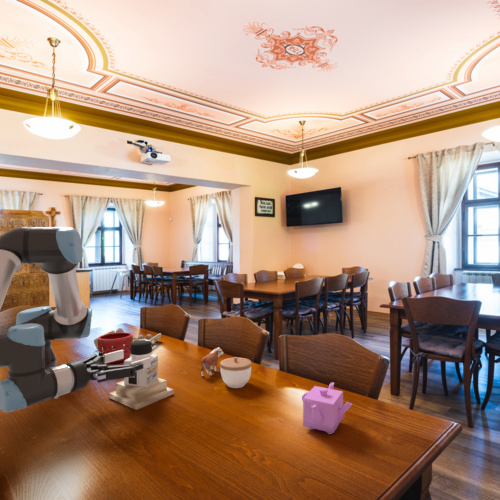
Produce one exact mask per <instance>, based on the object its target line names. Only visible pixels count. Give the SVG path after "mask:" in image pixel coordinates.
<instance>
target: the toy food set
mask: <svg viewBox="0 0 500 500" xmlns="http://www.w3.org/2000/svg"><path fill="white" fill-rule="evenodd" d="M119 332H124V329H123V327H118V328H117V329H116V331H115V330H111V331H109V332H106V333H104V334H103V335H105V334H110V333H119ZM161 336H162V333H161V332H159V333H158V334H156V335H154V336H152V334H150V333H149V334H147V335H146V337H144V335H143V334H140V335H139V334H138V336H137V338H135V337H133V341H136V340H141V339H146V340H150V341H151V342H152V345H154V344H155V343H156V342H158V341H159V340H160V339H161ZM93 344H94V346H95V348H96V350H98V337H95V338H94V339H93ZM123 346H125V345H123ZM112 348H113V346H112ZM102 350H103V347H102Z"/></svg>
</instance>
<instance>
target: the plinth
mask: <svg viewBox="0 0 500 500" xmlns="http://www.w3.org/2000/svg"><path fill="white" fill-rule="evenodd" d="M167 384H168V380H166V379H164V378H161V377H158V379H156V380H155V381H154V382H153V383H151V384H150V385H149V386H147V387H138V386H127V385H124V380H122V381H118V382H116V383H115V390H114V391H111V392H108V399H111V400H114V401H115V402H117V403H119V404H122V405H123V406H126V407H129V408H131V409H132V410H135V411H138V410H140V409H142V408H145V407H147V406H149V405H152V404H154V403H157V402H158V401H161V400H163V399H165V398H168V397H170V396H172V395H174V389H173V388H170V387H168V385H167Z"/></svg>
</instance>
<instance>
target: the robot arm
mask: <svg viewBox="0 0 500 500" xmlns="http://www.w3.org/2000/svg"><path fill="white" fill-rule="evenodd" d="M81 237H82V236H81V235H80V233H79V231H78V230H77V229H75V228H74V227H66V226H58V227H57V226H56V227H55V226H21V227H16V228H13V229H10V230H9V231H6V232H5V233H2V234H1V235H0V311H1V309H2V306H3V304H4V301H5V299H6V296H7V294H8V292H9V287H10V286H11V283H12V280H13V277H14V275H15V273H17V272H18V271H19V270H20V269H21V266H22V265H27V264H28V265H39V266H40V268H41V270H42V271H43V272H44V273H46V274H47V276H48V281H49V284H50V288H51V292H52V296H53V299H54V300H53V301H54V304H55V309H52V306H50V305H47V306H44V305H43V306H38V307H32V308H28V309H24V310H22V311H19V312H18V313H17V314H16V316H15V317H16V321H15V325H13V326H10V327H9V328H8V329H7V333H6V334H0V368H7V369H8V370H7V371H8V372H7V373H8V374H7V375H8V378H4V379H3V380H0V410H1V411H2V412H4V413H10V412H15V411H18V410H22V409H26V408H28V407H31V406H34V405H37V404H40V403H43V402H46V401H49V400H52V399H56V400H57V399H59V397H60V396H64V395H66V394H67V395H68V394H69V393H75V392H76V391H77V392H78V391H79V390H83V389H84V388H86V387H87V385H88V383H89V382H90V381H96V380H97V383H103V382H106V381H111V380H118V379H124V378H126V377H133V376H135V372H137V371H140V370H143V369H146V368H149V367H151V358H150V357H149V358H145V359H142V360H139V361H135V362H132V363H130V365H116V366H108V365H101V364H102V363H103V361H104V364H106V363H109V362H113V361H116V360H120V359H123V358H124V350H119V351H115V352H111V353H108V354H104V356H103V352H100V353H99V352H98V353H97V354H96V353H95V354H92V355H91V356H88V357H86V358H84V359H82V360H74V361H71V362H67V363H63V364H59V365H57V356H56V354H55V352H54V349H53V346H52V341H58V340H60V341H61V340H73V339H74V340H77V339H78V340H79V339H85V338H88V337H89V336H90V334H91V326H92V316H93V309H92V308H90V307H87V305H86V304H85V303H84V302H83V301H82V299H81V294H80V287H79V281H78V275H77V270H76V268H77V266H79V263H81V262H82V260H83V255H84V250H83V242H82V238H81Z"/></svg>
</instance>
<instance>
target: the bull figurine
mask: <svg viewBox="0 0 500 500" xmlns="http://www.w3.org/2000/svg"><path fill="white" fill-rule="evenodd" d="M221 355H224V351H223V349H222V348H220V347H215V348H213V350H212V351H210V352H209V353H208V354H206V355H204V357H202V359H200V365H201V369H200V372H201V375H200V377H204V371H206V374H208V375H209V376H213V373H212V372H211V370H213V371H214V372H218V370H217V366H218V363H219V357H220V356H221ZM213 366H214V368H213Z"/></svg>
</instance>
